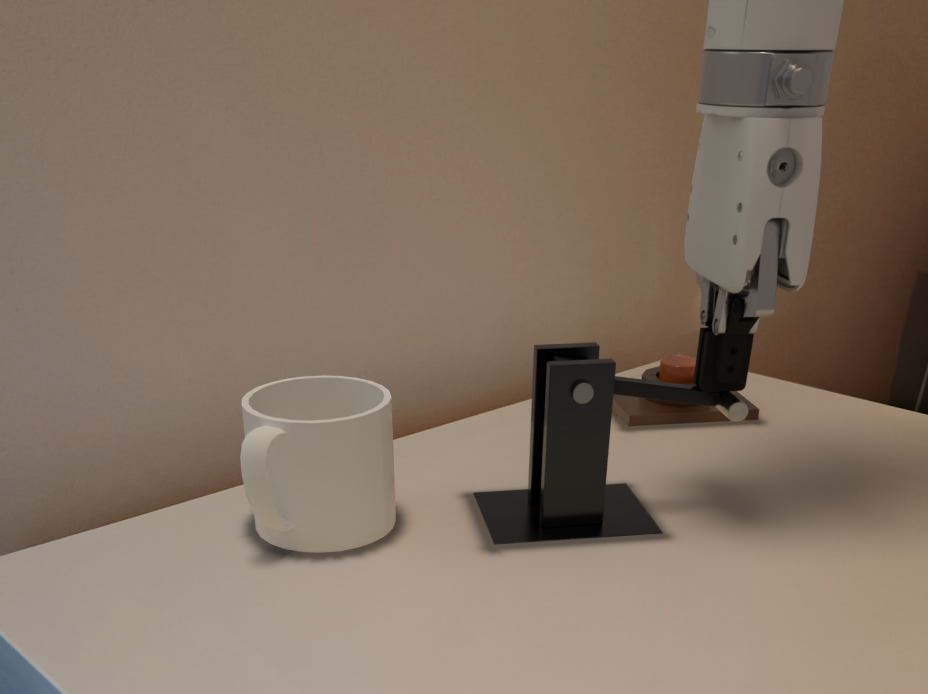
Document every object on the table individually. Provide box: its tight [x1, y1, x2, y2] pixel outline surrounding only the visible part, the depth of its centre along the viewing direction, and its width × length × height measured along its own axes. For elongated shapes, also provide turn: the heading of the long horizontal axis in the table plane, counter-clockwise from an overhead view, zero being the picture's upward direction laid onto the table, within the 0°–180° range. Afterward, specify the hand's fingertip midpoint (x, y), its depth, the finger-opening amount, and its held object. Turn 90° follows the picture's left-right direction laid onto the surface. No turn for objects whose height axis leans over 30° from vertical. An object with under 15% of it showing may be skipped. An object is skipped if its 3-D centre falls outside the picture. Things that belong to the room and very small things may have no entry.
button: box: [659, 355, 696, 383], centre depth 91 cm, size 4×4×2 cm
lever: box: [552, 356, 748, 423], centre depth 69 cm, size 13×6×2 cm, turn 98°
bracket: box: [472, 341, 664, 546], centre depth 70 cm, size 12×9×13 cm
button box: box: [612, 365, 760, 427], centre depth 93 cm, size 12×10×4 cm
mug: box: [239, 374, 397, 554], centre depth 69 cm, size 13×10×10 cm
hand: (718, 387), depth 69 cm, fingers closed
